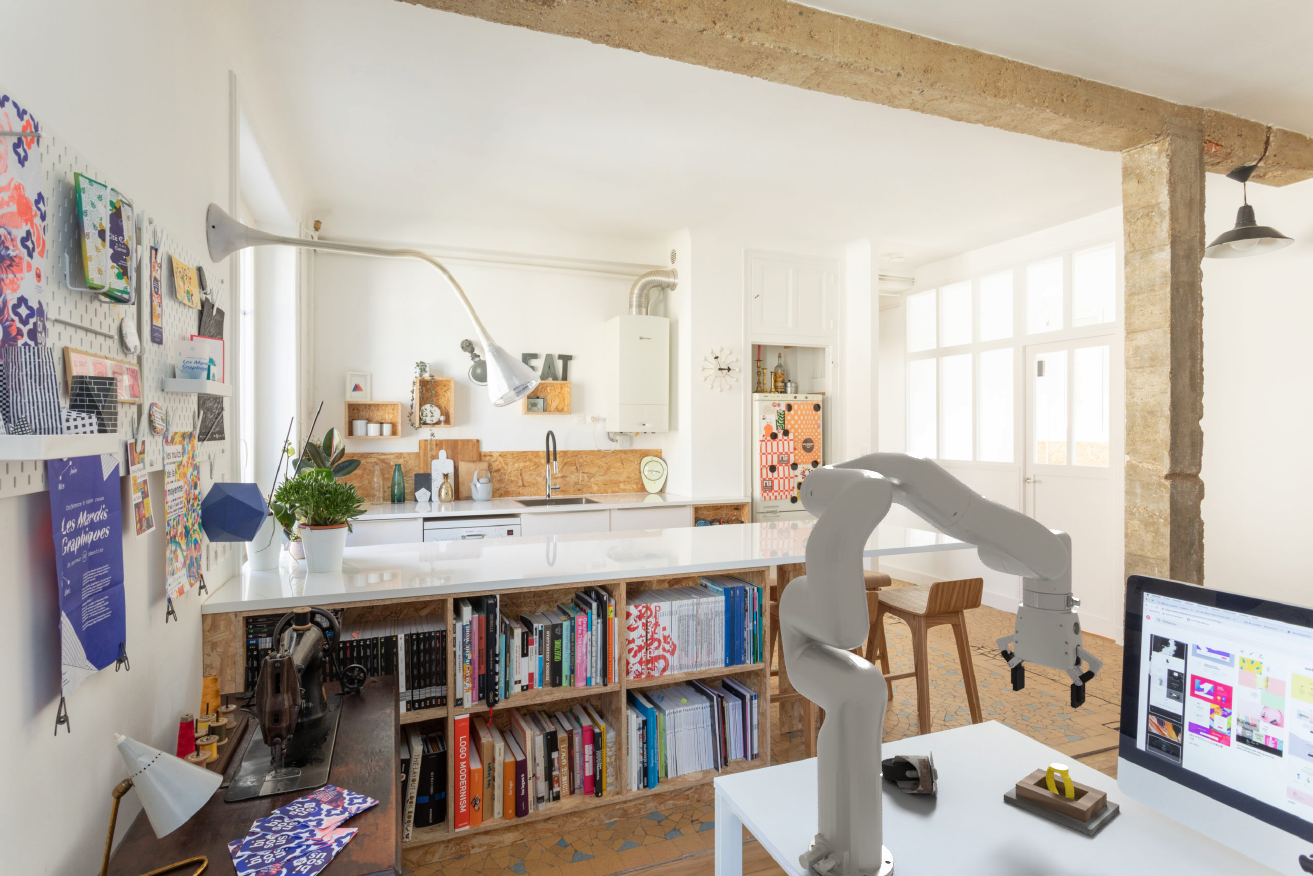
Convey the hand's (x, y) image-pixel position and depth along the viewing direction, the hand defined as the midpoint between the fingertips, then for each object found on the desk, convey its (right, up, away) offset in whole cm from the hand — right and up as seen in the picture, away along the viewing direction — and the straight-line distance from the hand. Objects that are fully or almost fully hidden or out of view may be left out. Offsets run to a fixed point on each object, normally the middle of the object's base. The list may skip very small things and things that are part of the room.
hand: (1046, 697), depth 120 cm
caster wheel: (-22, -19, +7) cm, 30 cm away
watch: (+2, -18, 0) cm, 18 cm away
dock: (+2, -19, 0) cm, 19 cm away
